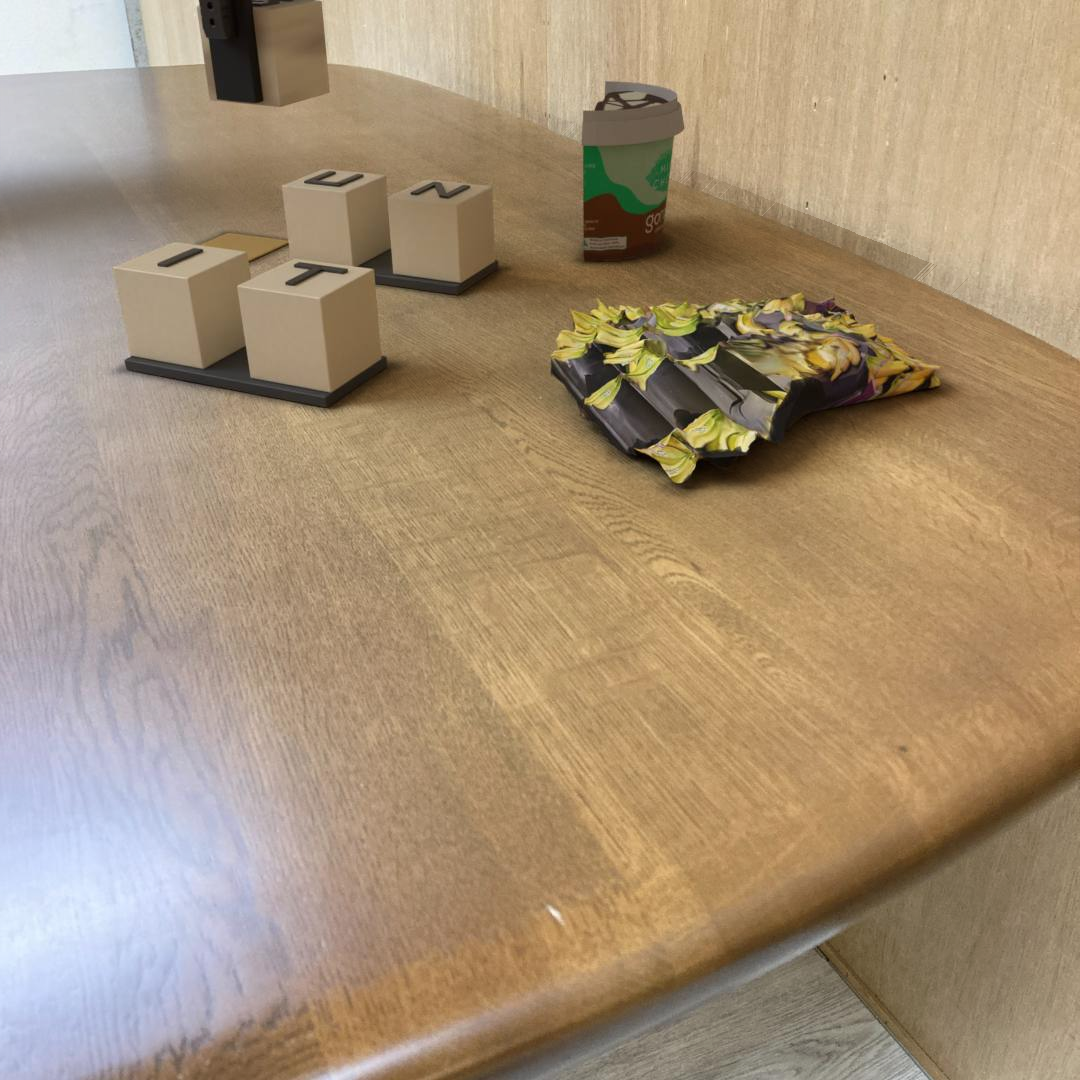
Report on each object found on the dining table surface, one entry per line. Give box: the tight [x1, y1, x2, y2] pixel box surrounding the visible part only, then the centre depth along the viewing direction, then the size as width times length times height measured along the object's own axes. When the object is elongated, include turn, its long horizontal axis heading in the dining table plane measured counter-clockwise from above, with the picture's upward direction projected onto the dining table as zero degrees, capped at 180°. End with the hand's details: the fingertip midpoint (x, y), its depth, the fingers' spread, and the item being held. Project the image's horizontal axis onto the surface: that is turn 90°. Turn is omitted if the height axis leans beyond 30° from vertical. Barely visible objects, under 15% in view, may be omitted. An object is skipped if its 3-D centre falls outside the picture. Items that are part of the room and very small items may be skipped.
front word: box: [112, 241, 388, 408], centre depth 61 cm, size 13×6×6 cm, turn 66°
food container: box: [581, 80, 685, 262], centre depth 79 cm, size 12×6×10 cm, turn 170°
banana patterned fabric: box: [549, 292, 941, 484], centre depth 58 cm, size 20×16×7 cm
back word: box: [199, 168, 499, 296], centre depth 77 cm, size 22×6×6 cm, turn 66°
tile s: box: [196, 0, 331, 108], centre depth 65 cm, size 5×5×5 cm
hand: (270, 91), depth 67 cm, fingers closed on tile s, 5 cm apart
